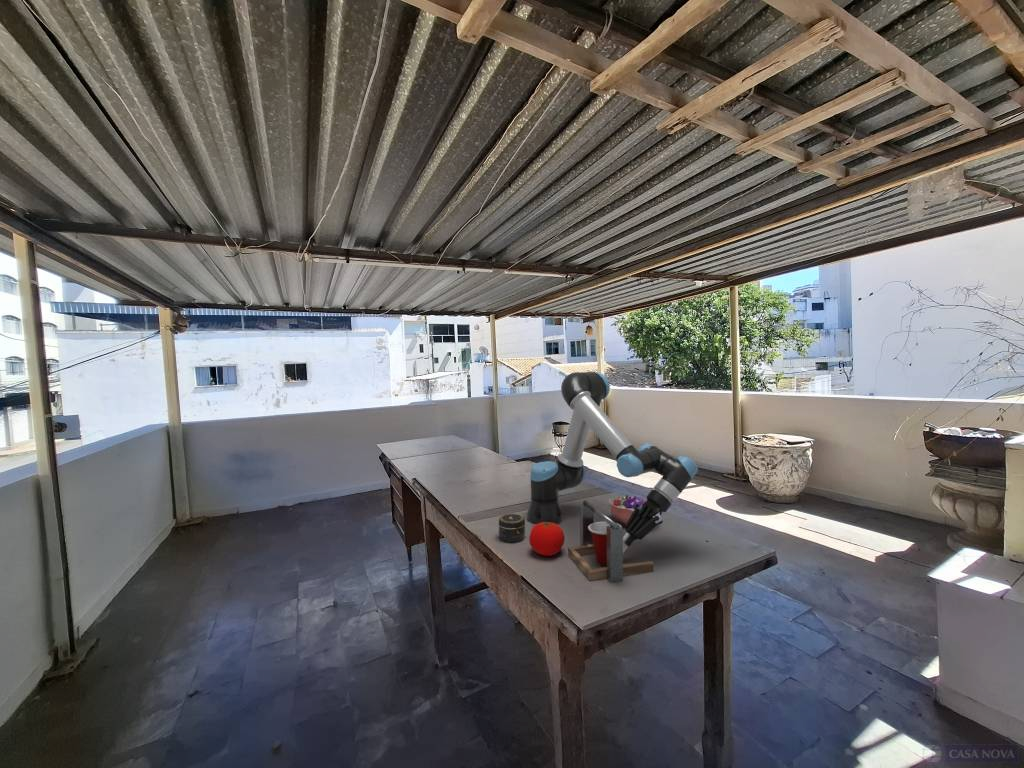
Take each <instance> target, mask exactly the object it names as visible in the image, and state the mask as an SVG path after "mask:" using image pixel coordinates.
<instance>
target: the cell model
mask: <svg viewBox="0 0 1024 768" xmlns="http://www.w3.org/2000/svg"><path fill="white" fill-rule="evenodd" d="M608 500H609V502H608V503H609V505H610V506H609V507H610V514H612V516H613V517H614V518H615V519H616V520H617V521H620V522H621V523H623V524H624V525H626V523H627V522H628V520H629V518H630V516H631V515H632V513H633V511H634V509H635V506H636V504H638V505H639V506H640V505H643V503H645V502H646V501H647V498H646V499H645V498H642V497H637V496H636V495H634V496H628V494H625V496H622V495H621V496H619V495H618V496H615V497H612V498H609V499H608Z"/></svg>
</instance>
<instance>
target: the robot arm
mask: <svg viewBox="0 0 1024 768" xmlns="http://www.w3.org/2000/svg"><path fill="white" fill-rule="evenodd" d="M610 386H611V385H610V382H609V381H608V378H607V376H606V375H604V373H600V372H596V371H587V372H586V371H583V372H580V371H579V372H578V371H575V372H571V373H569V374H567V375H566V376H565V377H564V379H563V381H562V383H561V386H560V387H561V388H560V389H561V390H560V392H561V396H562V398H563V400H564V401H565V403H566V405H567V406H568V407H569V408H570V409H571V410H573V411H572V415H571V419H570V422H569V426H568V430H567V434H566V438H565V441H564V444H563V445H564V446H563V450H562V452H561V453H560V454H558V455H557V458H556V462H555V461H550V460H549V461H548V460H546V461H539V462H537V463H535V464H533V465H532V466H531V468H530V475H529V476H530V502H529V506H528V509H527V512H526V519H527V521H528V522H529V523H532V524H534V525H536V524H538V523H542V522H551V523H552V522H553V523H555V524H557V525H558V524H559V523H561V522H562V521H563V519H564V518H563V515H564V514H563V512H562V508H561V505H560V503H559V492H560V491H563V490H564V491H565V490H568V489H572V488H575V487H577V486H580V485H581V484H582V483H583V482H584V481H585V478H586V472H587V471H586V470H585V469H586V467H585V465H584V461H583V459H582V458H583V457H582V456H583V453H584V450H585V446H586V443H587V439H588V435H589V432H590V429H591V430H592V432H593V433H594V434H595V436H597V438H598V439H599V440H600V441H601V443H602V444H603V445H604V446H605V447H606V448H607V450H608V451H609V452H610V453H611V455H612V456H613V457H614V459H616V468H617V471H618V472H619V474H620V475H621V476H623V477H625V478H635V477H639V476H641V475H643V474H646V473H651V472H653V471H654V472H656V473H657V474H658V475H660V476H662V477H661V478H659V480H658V482H657V483H655V485H654V486H653V489H651V490H650V491H649V492H648V493H647V495H646V500H647V501H646V502H645V503H643V505H640V506H639V505H638V504H636V506H635V509H634V511H633V513H632V515H631V516H630V518H629V520H628V522H627V523H626V524H624V528H623V529H625V532H624V534H623V554H624V553H625V551H626V550H628V549H627V548H629V547H630V546H631V545H632V544H633V543H634V541H635V540H639V541H642V540H643V539H644V538H645V537H646V536H647V535H648V534H650V532H652V531H653V530H654V529H655V528H656V527H657V526H660V525H661V524H663V522H664V521H663V520H662V518H661V516H662V513H666V512H667V511H668V510H669V509H670V507H671V506H672V503H674V502H675V501H676V500H677V498H678V497H679V496H680V495H681V494H682V492H683V491H684V490H685V489H686V487H687V486H688V485H689V484H690V483H691V481H692V480H694V477H695V476H696V474H698V471H699V468H698V465H697V464H696V462H695V461H693V460H692V459H690V458H689V457H687V456H685V455H680V456H678V457H677V458H675V457H673V456H671V455H670V454H668V453H666V452H665V451H664V450H662V449H660V448H659V447H658V446H656V445H653V444H652V443H650V442H645V443H643V445H640V447H639V448H638V449H637V448H636V447H635V446H634V445H633V444H632V443H631V442H630V440H629V439H628V438H627V437H626V436H625V435H624V433H622V431H621V430H620V429H619V427H617V425H616V424H615V423H614V422H613V421H612V420H611V419H610V418H609V416H608V415H607V414H606V413H605V411H604V410H603V409H602V408H601V407H600V406H601V404H602V400H604V399H606V398H607V397H608V395H609V394H610V390H611V389H610V388H611V387H610Z"/></svg>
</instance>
